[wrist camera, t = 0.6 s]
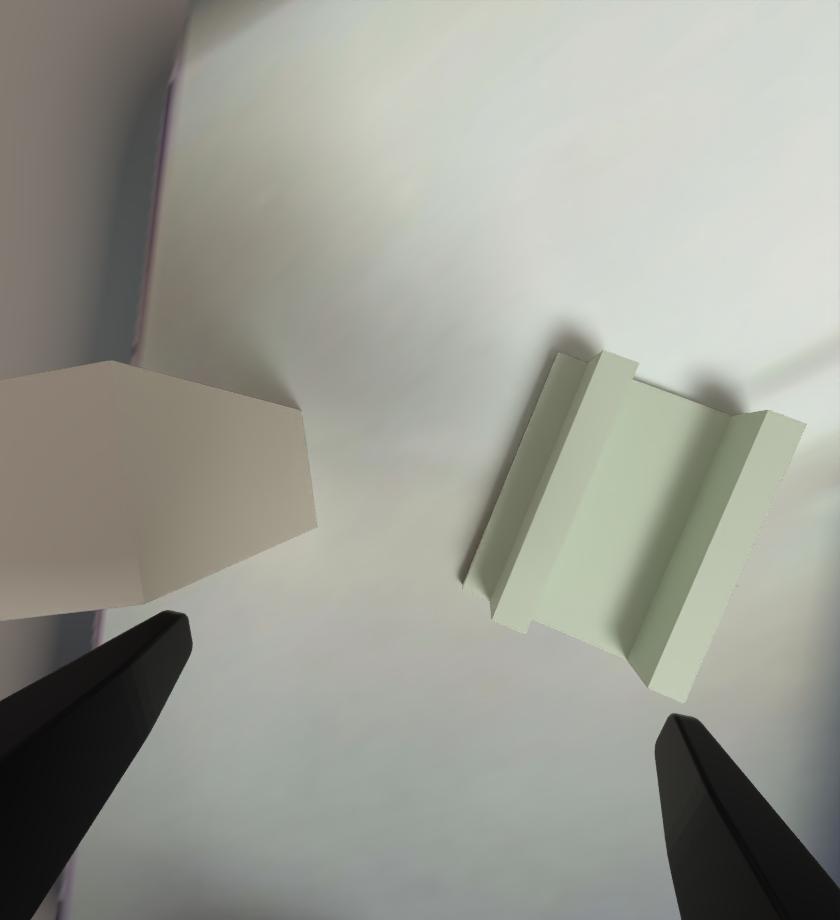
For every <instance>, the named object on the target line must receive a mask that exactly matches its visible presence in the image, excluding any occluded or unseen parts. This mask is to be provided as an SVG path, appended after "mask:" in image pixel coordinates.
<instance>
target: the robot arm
mask: <svg viewBox="0 0 840 920" xmlns="http://www.w3.org/2000/svg"><path fill="white" fill-rule="evenodd" d="M192 645H193V642H192V636H191V631H190V625H189V620H188V617H187V615H186V614H184V613H180V612H175V611H170V610H166V611H162V612H160V613H158V614H157V615H155V616H153V617H151V618H149V619H148V620H146V621H144V622H142V623H140V624H139V625H137V626H135V627H133V628H131V629H129V630H128V631H126V632H124V633H122V634H120V635H119V636H117V637H115V638H113V639H111V640H110V641H108V642H106V643H104V644H102V645H101V646H99V647H97V648H95V649H93V650H92V651H90V652H88V653H86V654H84V655H82V656H81V657H79V658H77V659H75V660H74V661H72V662H70V663H68V664H67V665H64V666H63V667H61V668H59V669H57V670H55V671H54V672H52V673H50V674H48V675H47V676H45V677H43V678H41V679H39V680H37V681H36V682H34V683H32V684H30V685H28V686H26V687H25V688H23V689H21V690H19V691H18V692H16V693H14V694H12V695H10V696H8V697H7V698H5V699H3V700H1V701H0V920H31V918H32V917H33V915H34V914H35V912H36V911H37V909H38V908H39V906H40V904H41V903H42V901H43V900H44V898H45V897H46V895H47V893H48V892H49V890H50V889H51V887H52V886H53V884H54V883H55V881H56V879H57V878H58V876H59V875H60V873H61V872H62V870H63V868H64V867H65V865H66V864H67V862H68V861H69V859H70V858H71V856H72V854H73V853H74V851H75V850H76V848H77V847H78V845H79V843H80V842H81V840H82V839H83V837H84V836H85V834H86V833H87V831H88V829H89V828H90V826H91V825H92V823H93V822H94V820H95V818H96V817H97V815H98V814H99V812H100V811H101V809H102V807H103V806H104V804H105V803H106V801H107V800H108V798H109V797H110V795H111V793H112V792H113V790H114V789H115V787H116V786H117V784H118V782H119V781H120V779H121V778H122V776H123V775H124V773H125V772H126V770H127V768H128V767H129V765H130V764H131V762H132V761H133V759H134V757H135V756H136V754H137V753H138V751H139V750H140V748H141V747H142V745H143V743H144V742H145V740H146V738H147V737H148V735H149V733H150V732H151V730H152V728H153V726H154V724H155V723H156V721H157V719H158V717H159V715H160V713H161V711H162V709H163V707H164V705H165V703H166V701H167V699H168V697H169V695H170V694H171V692H172V690H173V688H174V686H175V684H176V682H177V680H178V678H179V676H180V674H181V672H182V670H183V668H184V666H185V664H186V662H187V661H188V659H189V657H190V654H191V651H192ZM655 761H656V769H657V777H658V786H659V794H660V802H661V810H662V818H663V826H664V834H665V842H666V849H667V855H668V860H669V865H670V870H671V875H672V880H673V884H674V889H675V893H676V898H677V902H678V907H679V911H680V916H681V920H840V888H839V887H838V886H837V885H836V884H835V882H834V881H833V880H832V879H831V878H830V876H829V875H828V874H827V873H826V872H825V870H824V869H823V868H822V867H821V866H820V864H819V863H818V862H817V861H816V860H815V858H814V857H813V856H812V855H811V854H810V852H809V851H808V850H807V849H806V848H805V846H804V845H803V844H802V843H801V842H800V840H799V839H798V838H797V837H796V836H795V834H794V833H793V832H792V831H791V830H790V828H789V827H788V826H787V825H786V824H785V822H784V821H783V820H782V819H781V818H780V816H779V815H778V814H777V813H776V812H775V810H774V809H773V808H772V807H771V806H770V804H769V803H768V802H767V801H766V800H765V798H764V797H763V796H762V795H761V794H760V792H759V791H758V790H757V789H756V788H755V786H754V785H753V784H752V783H751V782H750V780H749V779H748V778H747V777H746V776H745V774H744V773H743V772H742V771H741V770H740V768H739V767H738V766H737V765H736V764H735V762H734V761H733V760H732V759H731V758H730V756H729V755H728V754H727V753H726V752H725V750H724V749H723V748H722V747H721V746H720V744H719V743H718V742H717V741H716V740H715V738H714V737H713V736H712V735H711V734H710V732H709V731H708V730H707V729H706V728H705V726H704V725H703V724H702V723H701V722H700V721H699V720H698V719H696V718H694V717H691V716H686V715H681V714H676V713H673V714H671V715H669V717H668V718H667V720H666V722H665V724H664V726H663V728H662V730H661V732H660V734H659V736H658V738H657V741H656V744H655Z"/></svg>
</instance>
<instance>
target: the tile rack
mask: <svg viewBox="0 0 840 920" xmlns="http://www.w3.org/2000/svg"><path fill="white" fill-rule="evenodd" d="M638 365H639V363H638V362H635V361H632V360H629V359H627V358H624V357H621V356H618V355H615V354H613V353H610V352H607V351H604V350H603V351H601V352H600V353H599V354H598V355H597V356H596V357H594V358H593V359H592V360H591V361H590V362H588V363H587V362H584V361H582V360H579V359H576V358H573V357H571V356H568V355H565V354H562V353H560V352H559V353H558V354H557V355H556V357H555V360H554V362H553V365H552V367H551V370H550V372H549V374H548V377H547V379H546V382H545V384H544V387H543V389H542V392H541V394H540V396H539V399H538V401H537V404H536V406H535V409H534V411H533V414H532V416H531V419H530V421H529V423H528V426H527V428H526V431H525V433H524V436H523V438H522V441H521V443H520V445H519V448H518V450H517V453H516V455H515V458H514V460H513V463H512V465H511V468H510V470H509V472H508V475H507V477H506V480H505V482H504V485H503V487H502V490H501V492H500V495H499V497H498V499H497V502H496V504H495V507H494V509H493V512H492V514H491V517H490V519H489V521H488V524H487V526H486V529H485V531H484V534H483V536H482V539H481V541H480V544H479V546H478V548H477V551H476V553H475V556H474V558H473V561H472V563H471V566H470V568H469V570H468V573H467V575H466V578H465V580H464V583H463V586H462V589H463V590H465V591H467V592H470V593H472V594H474V595H477V596H479V597H481V598H484V599H486V600H488V601H490V609H491V619H492V621H494V622H496V623H499V624H501V625H503V626H506V627H508V628H510V629H513V630H515V631H517V632H520V633H522V634H524V635H526V633H527V631H528V628H529V626H530V623H531V621H532V620H535V621H537V622H539V623H542V624H544V625H546V626H549V627H551V628H553V629H556V630H558V631H560V632H563V633H565V634H567V635H570V636H572V637H574V638H577V639H579V640H581V641H584V642H586V643H588V644H591V645H593V646H595V647H598V648H600V649H602V650H605V651H607V652H609V653H612V654H614V655H616V656H619V657H621V658H623V659H626V660H627V661H628V662H629V664H630V665H631V666H632V668H633V669H634V670H635V672H636V673H637V674H638V676H639V677H640V678H641V680H642V681H643V682H644V684H645V685H646V687H647V688H649V689H651V690H653V691H656V692H658V693H660V694H662V695H665V696H667V697H669V698H672V699H674V700H676V701H679V702H681V703H683V704H684V703H685V701H686V698H687V696H688V694H689V692H690V689H691V687H692V685H693V682H694V680H695V678H696V676H697V673H698V671H699V669H700V666H701V664H702V662H703V660H704V657H705V655H706V653H707V651H708V648H709V646H710V644H711V641H712V639H713V637H714V635H715V632H716V630H717V628H718V625H719V623H720V621H721V619H722V616H723V614H724V612H725V609H726V607H727V605H728V603H729V600H730V598H731V596H732V594H733V591H734V589H735V587H736V584H737V582H738V580H739V578H740V575H741V573H742V571H743V568H744V566H745V564H746V562H747V559H748V557H749V555H750V552H751V550H752V548H753V546H754V543H755V541H756V539H757V537H758V534H759V532H760V530H761V527H762V525H763V523H764V521H765V518H766V516H767V514H768V511H769V509H770V507H771V505H772V502H773V500H774V498H775V495H776V493H777V491H778V489H779V486H780V484H781V482H782V480H783V477H784V475H785V473H786V470H787V468H788V466H789V464H790V461H791V459H792V457H793V454H794V452H795V450H796V448H797V445H798V443H799V441H800V438H801V436H802V434H803V432H804V429H805V427H806V425H807V424H806V423H803V422H800V421H797V420H795V419H792V418H789V417H786V416H784V415H781V414H778V413H775V412H773V411H770V410H765V411H758V412H752V413H746V414H740V415H733V416H731V415H729V414H726V413H723V412H721V411H718V410H715V409H712V408H710V407H707V406H704V405H701V404H699V403H696V402H693V401H691V400H688V399H685V398H682V397H680V396H677V395H674V394H671V393H669V392H666V391H663V390H661V389H658V388H655V387H652V386H650V385H647V384H644V383H641V382H639V381H636V380H633V377H634V374H635V372H636V369H637V367H638Z"/></svg>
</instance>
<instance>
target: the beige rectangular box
mask: <svg viewBox="0 0 840 920" xmlns="http://www.w3.org/2000/svg"><path fill="white" fill-rule="evenodd" d="M316 527H318V526H317V519H316V512H315V505H314V498H313V490H312V483H311V476H310V469H309V462H308V455H307V447H306V440H305V433H304V426H303V419H302V411H301V410H298V409H294V408H290V407H286V406H283V405H279V404H275V403H271V402H267V401H264V400H260V399H256V398H252V397H248V396H245V395H241V394H237V393H233V392H230V391H226V390H222V389H218V388H214V387H211V386H207V385H203V384H199V383H196V382H192V381H188V380H184V379H180V378H177V377H173V376H169V375H165V374H161V373H158V372H154V371H150V370H146V369H143V368H139V367H135V366H131V365H127V364H124V363H120V362H116V361H112V360H109V361H104V362H98V363H92V364H87V365H82V366H76V367H70V368H65V369H59V370H54V371H48V372H42V373H37V374H31V375H26V376H20V377H14V378H9V379H4V380H0V621H3V620H12V619H21V618H29V617H38V616H47V615H55V614H64V613H73V612H81V611H90V610H99V609H107V608H116V607H125V606H133V605H142V604H146V603H148V602H150V601H153V600H155V599H157V598H159V597H162V596H164V595H166V594H168V593H171V592H173V591H175V590H177V589H180V588H182V587H184V586H186V585H189V584H191V583H193V582H195V581H197V580H200V579H202V578H204V577H206V576H209V575H211V574H213V573H215V572H218V571H220V570H222V569H224V568H227V567H229V566H231V565H233V564H236V563H238V562H240V561H242V560H245V559H247V558H249V557H251V556H254V555H256V554H258V553H260V552H263V551H265V550H267V549H269V548H272V547H274V546H276V545H278V544H281V543H283V542H285V541H287V540H290V539H292V538H294V537H296V536H299V535H301V534H303V533H305V532H308V531H310V530H312V529H314V528H316Z"/></svg>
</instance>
